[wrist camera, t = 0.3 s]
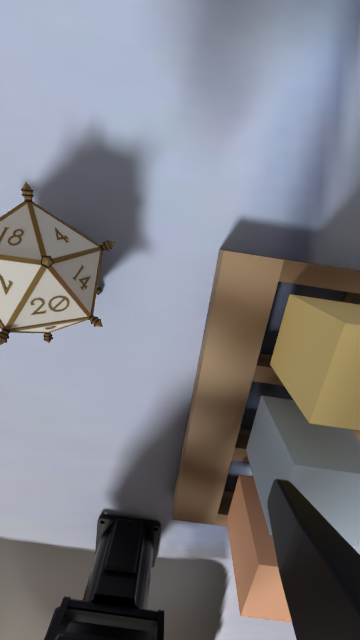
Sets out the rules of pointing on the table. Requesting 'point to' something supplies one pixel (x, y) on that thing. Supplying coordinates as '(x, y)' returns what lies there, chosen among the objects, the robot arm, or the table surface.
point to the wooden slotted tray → (236, 373)
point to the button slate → (307, 463)
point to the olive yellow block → (321, 359)
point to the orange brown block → (254, 557)
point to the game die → (45, 272)
